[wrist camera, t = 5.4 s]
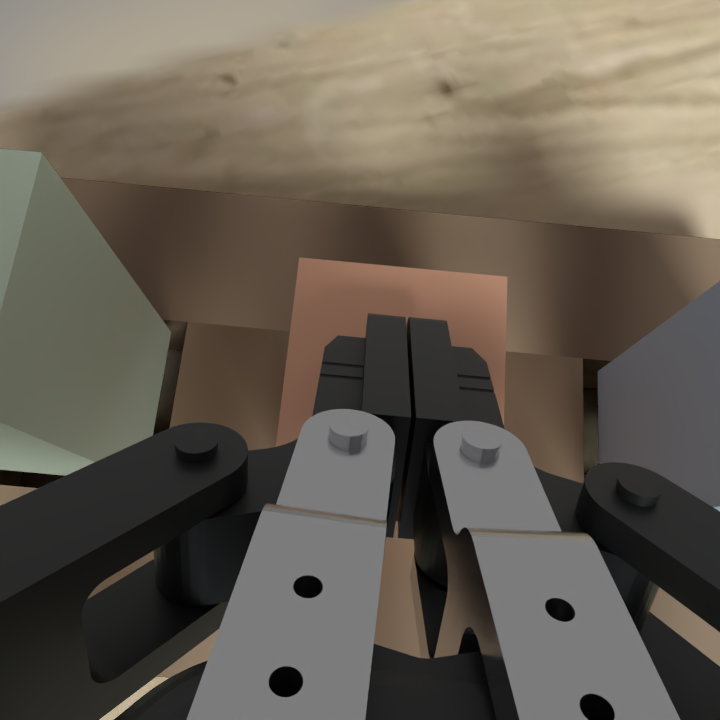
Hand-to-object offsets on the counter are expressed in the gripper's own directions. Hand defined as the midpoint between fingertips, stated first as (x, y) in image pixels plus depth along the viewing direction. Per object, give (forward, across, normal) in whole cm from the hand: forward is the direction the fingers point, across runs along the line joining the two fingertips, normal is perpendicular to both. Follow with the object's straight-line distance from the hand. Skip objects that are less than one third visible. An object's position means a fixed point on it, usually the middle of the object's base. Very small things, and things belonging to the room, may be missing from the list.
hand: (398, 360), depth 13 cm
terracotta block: (+7, 0, +7) cm, 10 cm away
